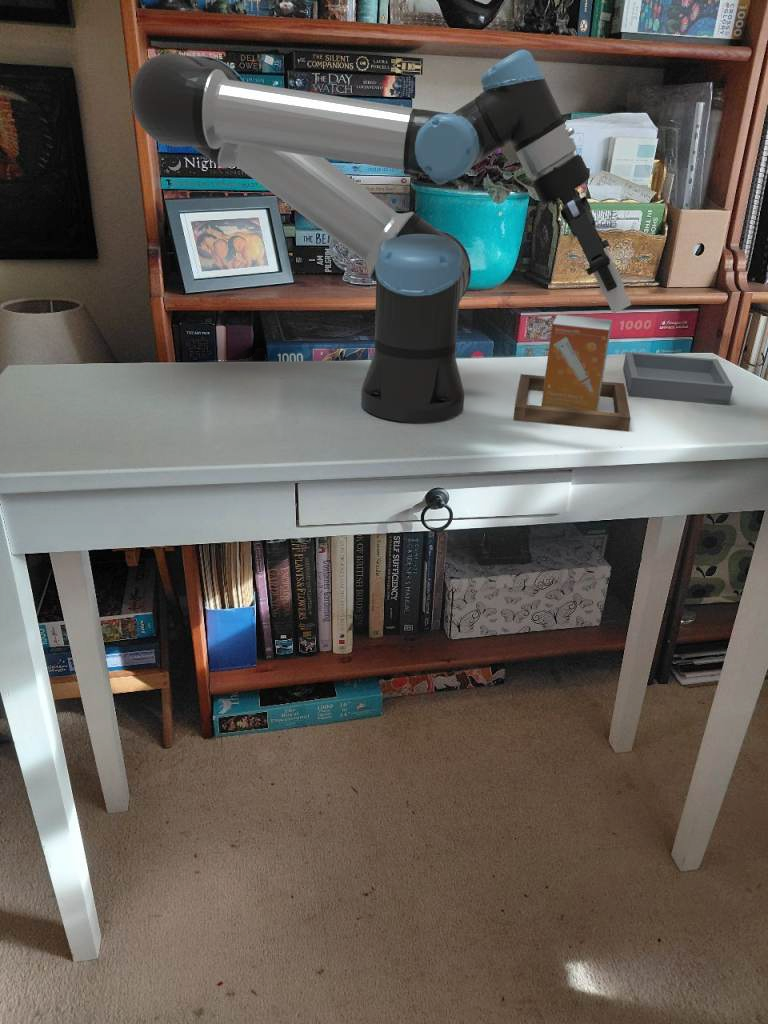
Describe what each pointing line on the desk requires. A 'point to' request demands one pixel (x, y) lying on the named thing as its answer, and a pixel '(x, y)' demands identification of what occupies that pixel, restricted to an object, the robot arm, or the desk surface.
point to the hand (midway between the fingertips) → (619, 299)
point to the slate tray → (676, 378)
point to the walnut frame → (573, 416)
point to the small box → (576, 362)
